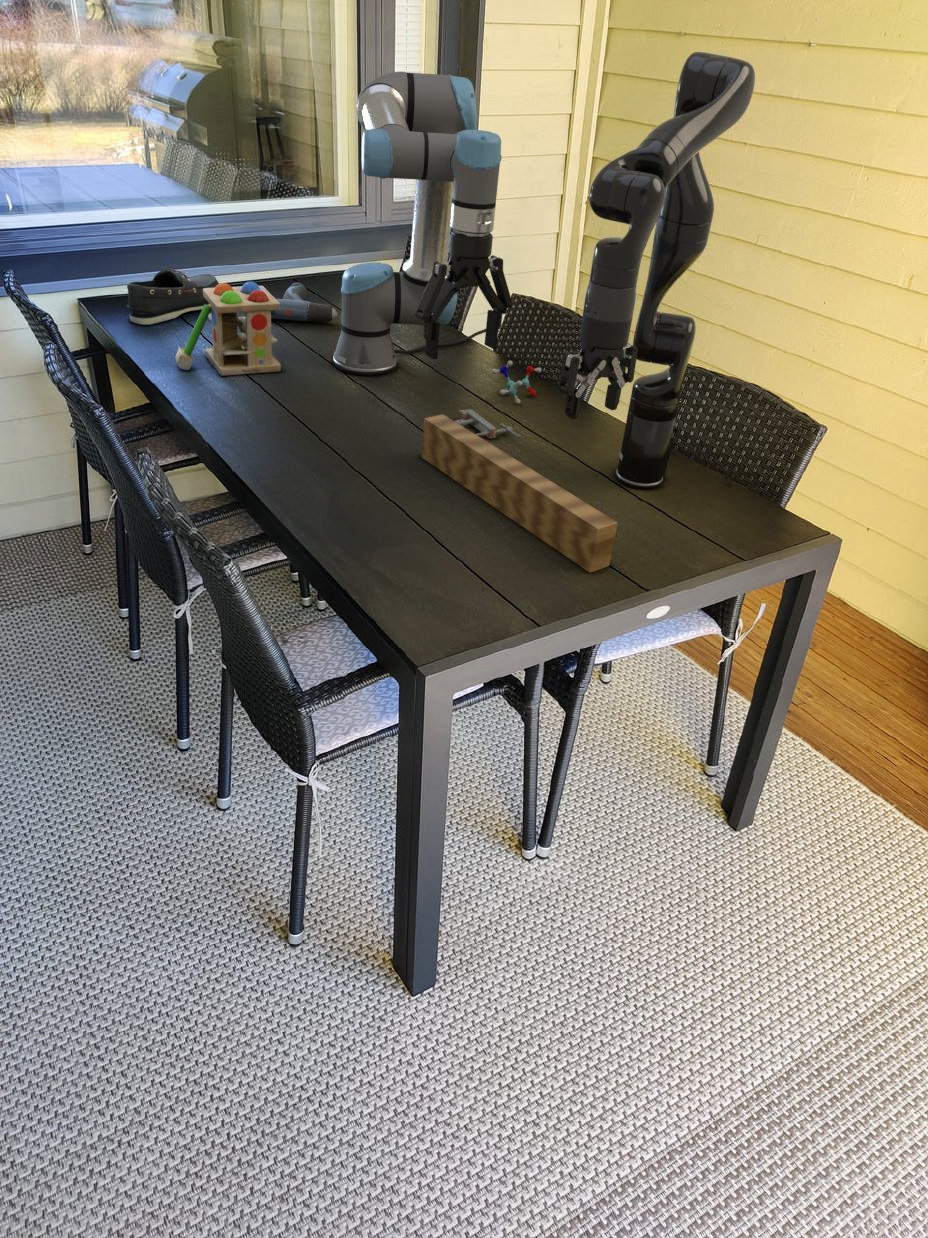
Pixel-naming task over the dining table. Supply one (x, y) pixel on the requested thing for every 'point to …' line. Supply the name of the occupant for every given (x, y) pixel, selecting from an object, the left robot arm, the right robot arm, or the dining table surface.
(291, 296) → the power drill
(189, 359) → the pounding bench toy
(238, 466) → the dining table surface
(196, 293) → the boat shoe
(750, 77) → the right robot arm
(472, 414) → the clamp
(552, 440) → the dining table surface
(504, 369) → the molecular model
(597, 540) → the bar
